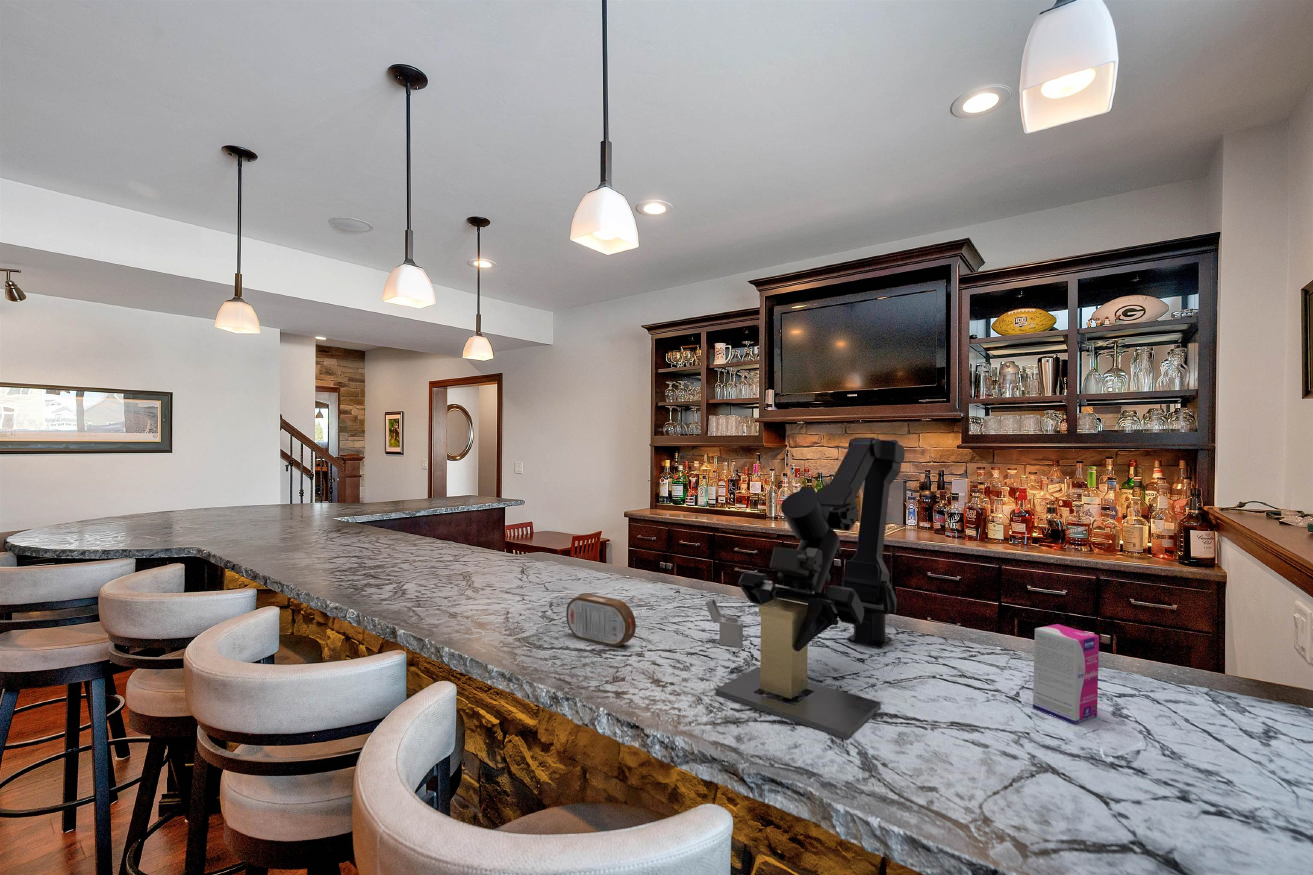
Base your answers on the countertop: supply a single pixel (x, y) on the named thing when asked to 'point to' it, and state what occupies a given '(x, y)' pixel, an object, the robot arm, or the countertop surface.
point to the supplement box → (1066, 673)
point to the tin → (601, 619)
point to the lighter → (726, 626)
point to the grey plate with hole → (806, 705)
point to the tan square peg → (782, 648)
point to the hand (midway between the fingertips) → (779, 645)
